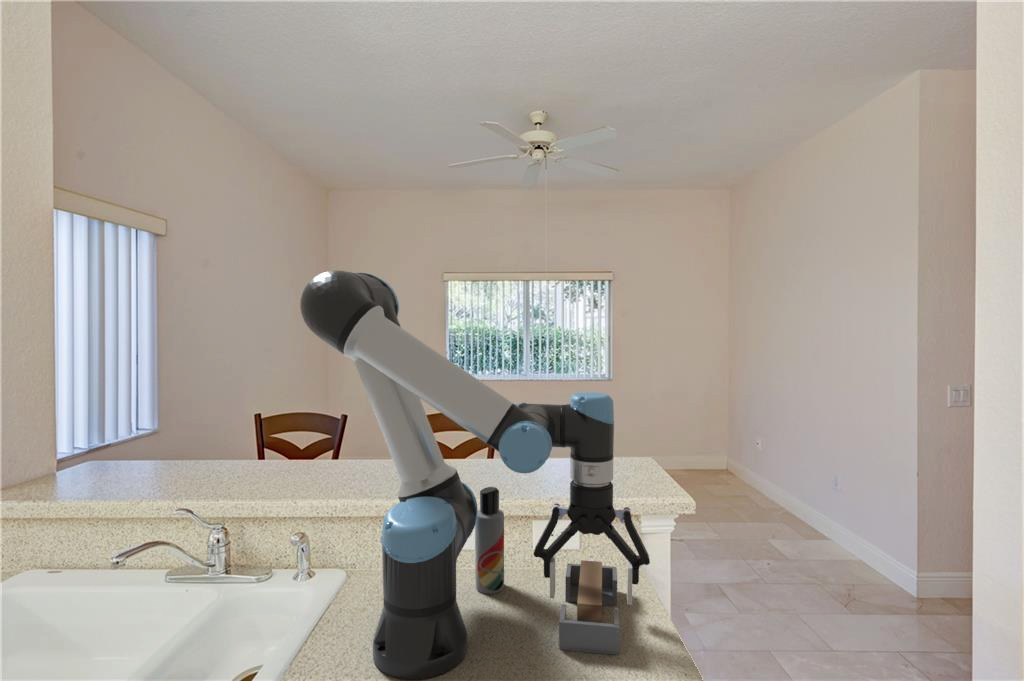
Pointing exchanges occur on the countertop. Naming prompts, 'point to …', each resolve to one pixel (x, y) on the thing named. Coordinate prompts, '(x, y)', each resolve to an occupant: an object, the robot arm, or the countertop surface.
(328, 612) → the countertop surface
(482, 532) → the lotion bottle
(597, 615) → the slat
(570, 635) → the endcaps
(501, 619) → the countertop surface
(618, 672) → the countertop surface
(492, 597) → the countertop surface
